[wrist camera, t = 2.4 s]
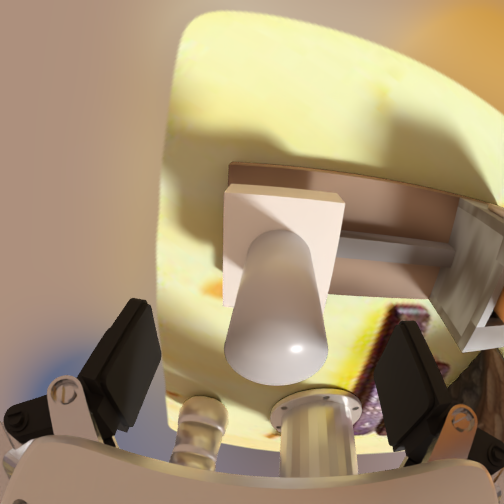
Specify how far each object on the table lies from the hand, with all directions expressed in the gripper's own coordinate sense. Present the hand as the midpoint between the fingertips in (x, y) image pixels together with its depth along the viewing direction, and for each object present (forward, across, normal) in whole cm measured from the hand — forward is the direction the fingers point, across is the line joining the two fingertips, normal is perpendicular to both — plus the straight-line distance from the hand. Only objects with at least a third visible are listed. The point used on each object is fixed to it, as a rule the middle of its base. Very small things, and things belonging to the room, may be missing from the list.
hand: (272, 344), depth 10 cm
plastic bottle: (+13, +7, +27) cm, 31 cm away
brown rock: (+13, -34, +20) cm, 42 cm away
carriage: (+12, 0, +1) cm, 12 cm away
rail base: (+14, -9, +1) cm, 17 cm away
